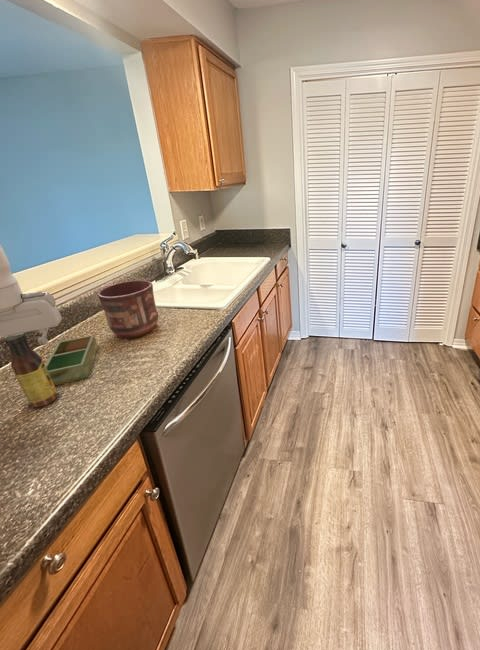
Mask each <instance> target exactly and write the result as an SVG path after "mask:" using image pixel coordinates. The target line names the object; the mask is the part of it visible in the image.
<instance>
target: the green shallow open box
mask: <svg viewBox="0 0 480 650" xmlns="http://www.w3.org/2000/svg"><path fill="white" fill-rule="evenodd" d="M98 347H99V345H98V342H97V340H96V336H95V334H91V335H86V336H81V337H76V338H71V339H67V340H66V339H65V340H62V341H58V342H57V344H56V346H55V347H54V348H53V350H52V352H51V354H50V356H49V358H48V359H47V360H46V362H45V366H46V368H47V370H48V373H49V375H50V377H51V380H52V382H53V384H54V386H55V387H56V386H59V385H64V384H69V383H71V382H72V383H73V382H77V381H81V380H85V379H88V378H89V376H90V373H91V370H92V367H93V363H94V361H95V358H96V354H97V351H98Z"/></svg>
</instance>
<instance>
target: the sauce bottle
mask: <svg viewBox="0 0 480 650" xmlns="http://www.w3.org/2000/svg"><path fill="white" fill-rule="evenodd" d="M27 339H28V337H27V336H26V334H25V333H20V334H15V335H9V336H6V337H5V338H4V343H5V344H6V346H7V347H8V348H9V351H10V354H11V355H12V357H11V361H10V366H11V369H12V371H13V372H14V376H15V378H16V379H17V382H18V384H19V385H20V387H21V390H22V392H23V393H24V396H25V397H26V399H27V402H28V403H29V404H30V406H31V407H32V408H42V407H44V406H47V405H49V404H51V403H53V402H54V401H55V400H56V399H57V398H58V393H57V389H56V385H55V386H54V384H53V382H52V380H51V377H50V375H49V373H48V370H47V368H46V366H45V365H46V363H45V362H44V359H43V357H42V356H40V355H39V354H38V353H37V352H36V351H35V350H33V348H32V347H31V346H30V344H29V342H28V340H27Z"/></svg>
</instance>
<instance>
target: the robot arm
mask: <svg viewBox="0 0 480 650" xmlns="http://www.w3.org/2000/svg"><path fill="white" fill-rule="evenodd" d="M56 303H57V302H56V299H55V297H54V295H53V294H51V293H50V292H45V291H37V292H27V293H23V292H22V289H21V287H20V284H19V282H18V280H17V278H16V277H15V276H14V274H13V273H12V270H11V264H10V261H9V259H8V256H7V254H6V252H5V250H4V248H3V246H2V245H1V243H0V338H4V337H8V336H11V335H15V334H20V333H24V334H25V333H30V332H35V331H38V332H39V334H41V336H39V337H38V338H37V343H38V345H39V346H45V345H46V346H47V344H48V343H49V339H48V338H47V335H48V333H49V329H51V328H56V327H58V326H59V325H60V323H61V322H62V320H63V316H62V315H61V313H60V311H59V308H58V307H57V305H56ZM3 353H4V348H3V346H2V344H0V355H1V354H3Z"/></svg>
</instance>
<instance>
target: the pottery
mask: <svg viewBox="0 0 480 650" xmlns="http://www.w3.org/2000/svg"><path fill="white" fill-rule="evenodd" d="M97 296H98V299H99V301H100V305H101V306H102V309H103V312H104V314H105V317H106V321H107V324H108V327H109V329H110V331H111V332H112V333H113V334H114V335H115V336H117V337H119V338H121V339H124V340H135V339H139V338H142V337H145V336H148V335H149V334H150V333H151V332H153V331H154V329H155V328H156V327H157V325H158V322H159V317H160V316H159V311H158V308H157V305H156V299H155V295H154V285H153V283H152V281H149V280H145V279H135V280H127V281H121V282H117V283H113V284H111V285H108V286H106V287H104V288H102V289H100V290H99V291H98V293H97Z"/></svg>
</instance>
